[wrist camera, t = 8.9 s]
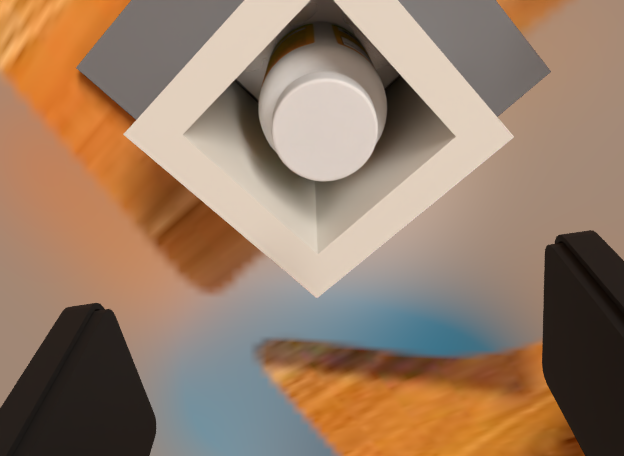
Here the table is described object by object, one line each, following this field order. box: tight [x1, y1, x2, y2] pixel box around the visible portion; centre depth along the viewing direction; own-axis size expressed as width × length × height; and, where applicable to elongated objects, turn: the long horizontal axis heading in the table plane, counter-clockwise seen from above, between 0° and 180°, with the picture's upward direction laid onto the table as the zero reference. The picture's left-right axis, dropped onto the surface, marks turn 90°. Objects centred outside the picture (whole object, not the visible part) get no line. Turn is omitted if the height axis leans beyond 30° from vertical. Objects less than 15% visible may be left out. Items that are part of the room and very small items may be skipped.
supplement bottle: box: [258, 22, 387, 181], centre depth 25 cm, size 5×5×10 cm
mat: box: [76, 0, 551, 120], centre depth 31 cm, size 18×18×1 cm
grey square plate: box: [236, 0, 399, 100], centre depth 30 cm, size 6×6×1 cm
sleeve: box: [123, 0, 514, 298], centre depth 26 cm, size 10×10×11 cm
